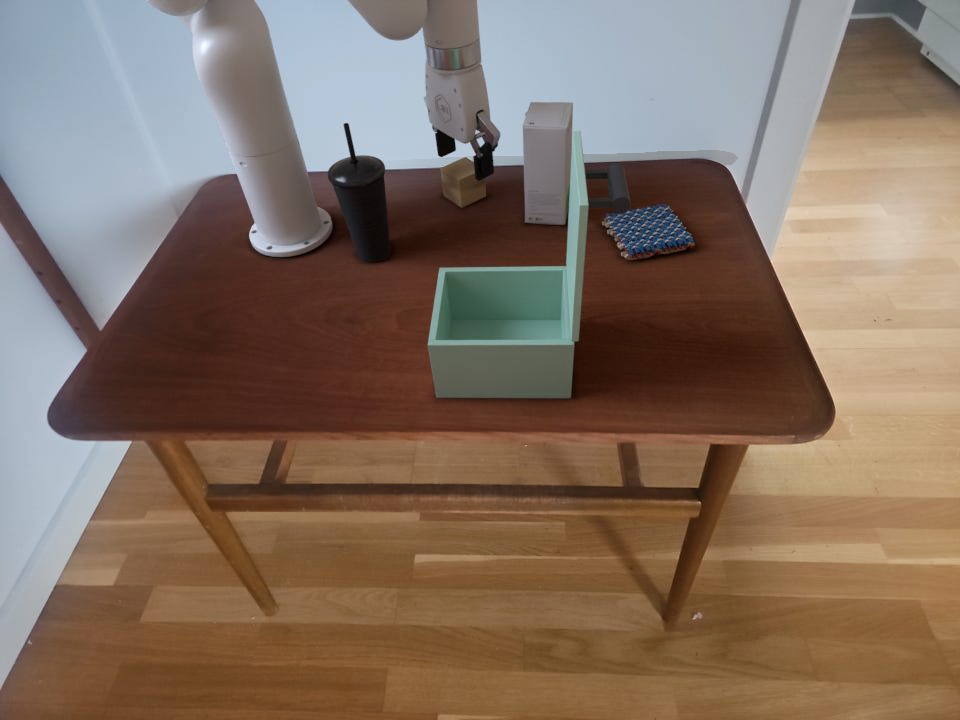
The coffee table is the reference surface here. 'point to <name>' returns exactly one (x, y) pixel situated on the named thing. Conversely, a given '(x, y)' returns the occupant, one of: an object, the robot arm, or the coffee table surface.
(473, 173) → the maple block
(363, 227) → the drinking cup
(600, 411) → the coffee table surface
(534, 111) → the cosmetic box
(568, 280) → the compartment lid
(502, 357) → the compartment
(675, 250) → the woven mat
